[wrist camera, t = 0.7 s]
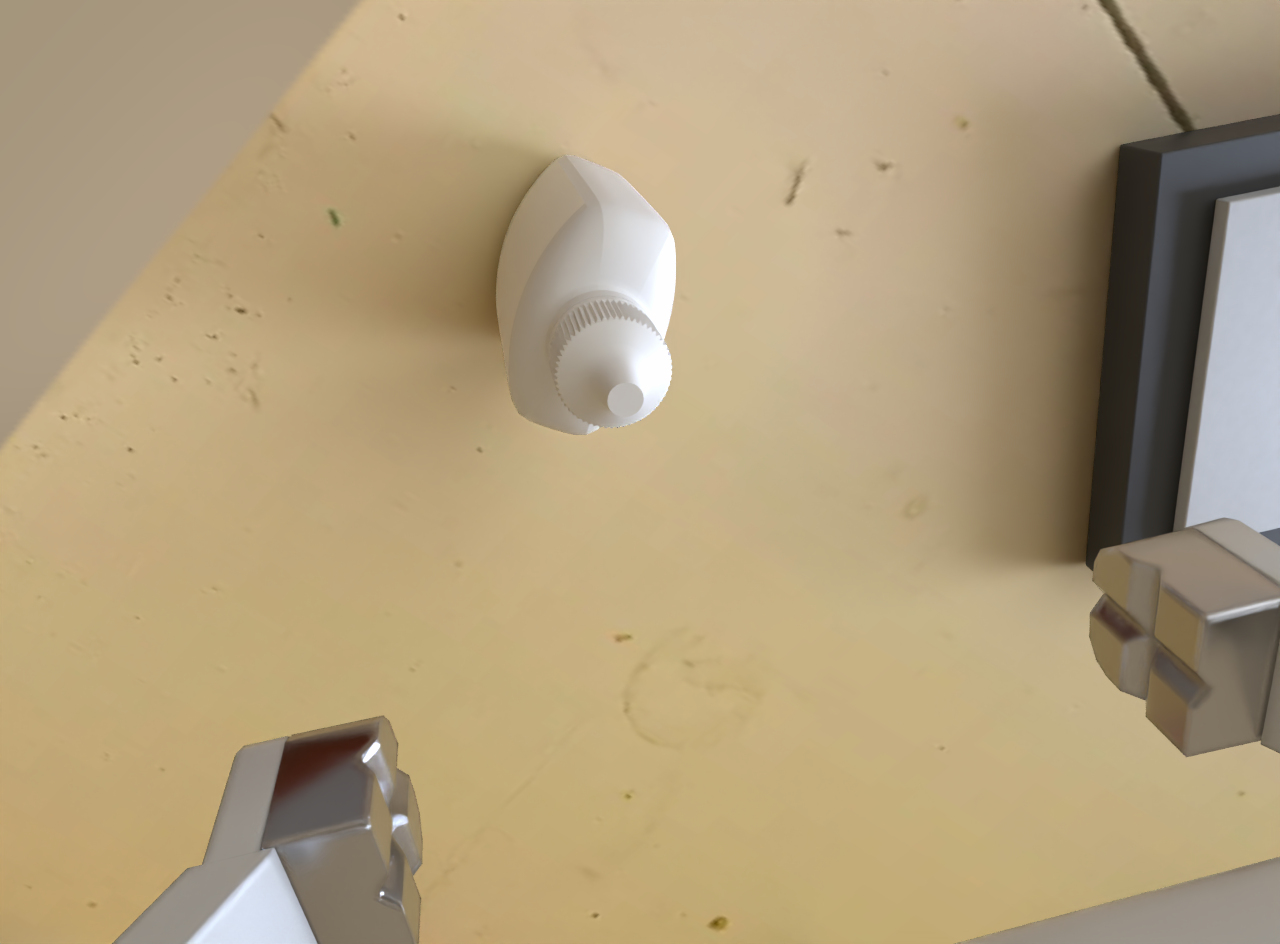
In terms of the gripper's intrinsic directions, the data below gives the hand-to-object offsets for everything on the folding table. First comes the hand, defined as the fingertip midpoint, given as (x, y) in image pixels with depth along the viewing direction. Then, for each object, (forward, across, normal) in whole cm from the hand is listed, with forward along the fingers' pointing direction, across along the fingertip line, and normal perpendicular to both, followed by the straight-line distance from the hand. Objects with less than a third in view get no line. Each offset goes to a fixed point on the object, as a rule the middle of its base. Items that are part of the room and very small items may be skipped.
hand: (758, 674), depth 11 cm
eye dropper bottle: (+20, 0, 0) cm, 21 cm away
